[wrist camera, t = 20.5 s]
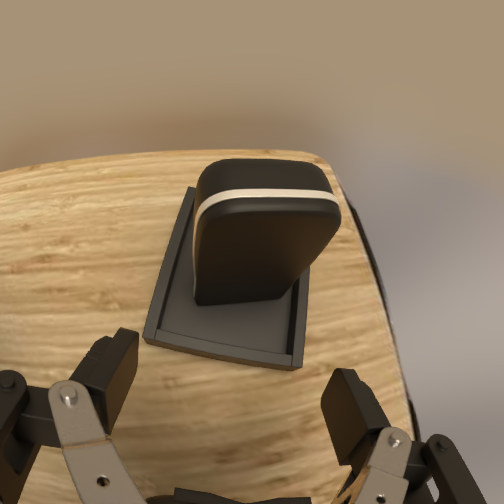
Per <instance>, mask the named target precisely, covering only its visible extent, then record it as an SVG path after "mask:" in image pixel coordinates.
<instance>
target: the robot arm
mask: <svg viewBox="0 0 504 504" xmlns="http://www.w3.org/2000/svg"><path fill="white" fill-rule="evenodd" d="M138 347H139V333H138V332H136V331H132V330H128V329H125V328H119V330H118V331H117V333H116V334H115V335H114V337H113V338H111V337H108V336H104V337H102V338H101V339H99V340H97V341H96V342H95V343H94V344H93V346H92V347H91V349H90V351H88V353H87V354H86V356H85V357H84V358H83V360H82V361H81V363H80V364H79V365H78V367H77V368H76V370H75V371H74V373H73V374H72V375H71V377H70V378H69V380H63V381H59V382H57V383H55V384H53V385H52V386H51V387H50V388H49V389H48V388H40V387H34V386H28V385H27V383H26V380H25V378H24V377H23V376H22V375H21V374H20V373H18V372H16V371H13V370H3V371H0V504H17V503H18V500H19V498H20V495H21V492H22V490H23V487H24V485H25V482H26V480H27V477H28V475H29V472H30V470H31V468H32V465H33V463H34V461H35V459H36V456H37V454H38V452H39V450H40V448H41V445H44V446H50V447H57V448H61V449H62V452H63V455H64V458H65V461H66V464H67V467H68V469H69V472H70V475H71V477H72V480H73V482H74V485H75V487H76V490H77V492H78V494H79V497H80V499H81V501H82V503H83V504H312V502H311V498H310V497H296V498H275V499H270V500H265V501H259V502H253V503H241V502H238V501H234V500H231V499H227V498H224V497H221V496H218V495H215V494H212V493H207V492H200V491H194V490H188V489H182V488H177V487H175V490H174V495H159V496H154V497H149V498H146V499H144V498H143V496H142V494H141V493H140V491H139V489H138V488H137V486H136V484H135V483H134V481H133V479H132V478H131V476H130V474H129V472H128V470H127V469H126V467H125V465H124V463H123V461H122V459H121V457H120V455H119V453H118V451H117V449H116V447H115V445H114V443H113V442H112V440H111V439H108V438H107V436H106V434H108V435H111V432H112V430H113V427H114V425H115V422H116V420H117V417H118V415H119V413H120V410H121V408H122V405H123V403H124V401H125V398H126V396H127V394H128V391H129V389H130V387H131V384H132V382H133V380H134V378H135V375H136V371H137V365H138ZM321 409H322V412H323V415H324V419H325V422H326V425H327V428H328V431H329V434H330V437H331V440H332V443H333V446H334V449H335V453H336V456H337V459H338V462H339V465H340V466H342V465H351V467H352V469H351V470H350V471H349V473H348V474H347V476H346V478H345V480H344V482H343V483H342V485H341V487H340V489H339V490H338V492H337V494H336V496H335V497H334V499H333V501H332V502H331V504H487V503H486V501H485V499H484V497H483V495H482V493H481V491H480V489H479V488H478V486H477V484H476V482H475V480H474V479H473V477H472V475H471V473H470V471H469V470H468V468H467V466H466V464H465V462H464V461H463V459H462V457H461V455H460V454H459V452H458V450H457V449H456V447H455V445H454V443H453V442H452V441H451V440H450V439H449V438H448V437H446V436H444V435H440V434H434V435H432V436H431V437H430V438H429V439H428V440H427V442H426V443H424V442H416V441H411V438H410V437H409V435H408V434H407V433H406V432H405V431H403V430H402V429H400V428H397V427H392V426H391V425H390V423H389V421H388V419H387V417H386V415H385V413H384V412H383V410H382V408H381V406H380V405H379V402H378V401H377V399H376V398H375V395H374V393H373V392H372V390H371V388H370V387H369V386H368V385H366V384H365V383H364V382H363V381H360V379H359V377H358V375H357V373H356V371H355V370H354V369H344V368H336V369H335V370H334V372H333V374H332V376H331V378H330V380H329V382H328V384H327V386H326V388H325V390H324V392H323V394H322V397H321ZM432 477H433V479H434V481H435V483H436V486H437V488H438V490H439V498H438V500H437V502H434V500H433V497H432V495H431V493H430V490H429V488H428V486H427V482H428V481H429V480H430V479H431V478H432Z"/></svg>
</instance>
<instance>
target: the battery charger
mask: <svg viewBox="0 0 504 504" xmlns="http://www.w3.org/2000/svg"><path fill="white" fill-rule="evenodd" d="M340 225H341V207H340V204H339V202H338V199H337V198H336V197H335V196H334V194H333V191H332V189H331V186H330V184H329V181H328V179H327V177H326V176H325V174H324V172H323V171H322V169H320V168H319V167H318V166H316V165H314V164H312V163H308V162H303V161H291V160H277V159H224V160H220V161H217V162H214V163H212V164H210V165H209V166H207V167H206V168H205V170H204V171H203V172H202V174H201V175H200V177H199V180H198V183H197V186H196V193H195V201H194V212H193V267H194V281H193V285H194V287H193V296H194V297H195V302H196V303H197V304H198V305H211V304H225V303H238V302H249V301H259V300H269V299H278V298H282V297H283V296H284V294H285V293H286V292H287V291H288V289H289V288H290V287H291V286H292V284H293V283H294V282H295V281H296V280H297V279H298V278H299V277H300V276H301V275H302V274H303V272H304V271H305V270H306V269H307V268H308V267H309V266H310V265H311V264H312V263H313V261H314V260H315V259H316V258H317V257H318V256H319V254H320V253H321V252H322V251H323V249H324V248H325V247H326V246H327V244H328V243H329V242H330V240H331V239H332V238H333V236H334V235H335V233H336V232H337V230H338V228H339V227H340Z"/></svg>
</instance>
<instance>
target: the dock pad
mask: <svg viewBox="0 0 504 504" xmlns="http://www.w3.org/2000/svg"><path fill="white" fill-rule="evenodd" d="M195 193H196V188H194V187H188V189H187V192H186V194H185V197H184V200H183V203H182V206H181V208H180V211H179V214H178V217H177V220H176V223H175V226H174V229H173V232H172V235H171V238H170V241H169V244H168V247H167V251H166V254H165V257H164V260H163V263H162V267H161V270H160V273H159V277H158V280H157V284H156V287H155V290H154V294H153V298H152V301H151V305H150V308H149V312H148V316H147V320H146V324H145V327H144V331H143V335H142V337H143V339H144V340H145V341H146V343H148V344H151V345H155V346H159V347H163V348H167V349H171V350H175V351H180V352H184V353H188V354H193V355H198V356H202V357H207V358H212V359H217V360H222V361H228V362H233V363H239V364H245V365H251V366H257V367H263V368H270V369H277V370H285V371H294V370H297V369H300V368H302V365H303V355H304V344H305V332H306V320H307V306H308V291H309V274H310V266H309V267H308V268H307V269H306V270H305V271H304V272H303V274H302V275H301V276H300V277H299V278H298V279H297V280H296V281H295V282H294V283H293V284H292V286H291V287H290V288H289V289H288V291H287V292H286V293H285V294H284V296H283V297H282V298H278V299H269V300H259V301H249V302H238V303H225V304H211V305H198V304H197V303H196V302H195V297H194V296H193V287H194V285H193V281H194V267H193V212H194V201H195Z"/></svg>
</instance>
